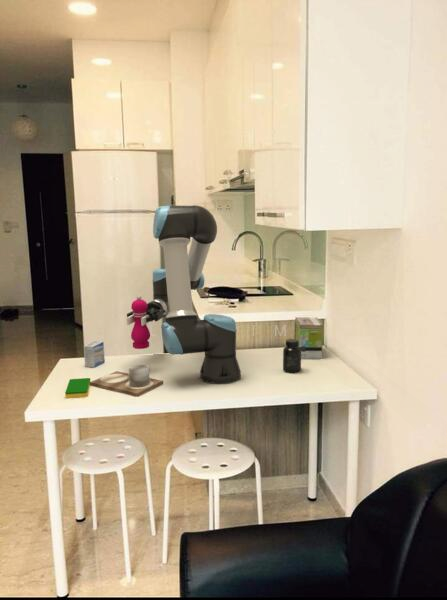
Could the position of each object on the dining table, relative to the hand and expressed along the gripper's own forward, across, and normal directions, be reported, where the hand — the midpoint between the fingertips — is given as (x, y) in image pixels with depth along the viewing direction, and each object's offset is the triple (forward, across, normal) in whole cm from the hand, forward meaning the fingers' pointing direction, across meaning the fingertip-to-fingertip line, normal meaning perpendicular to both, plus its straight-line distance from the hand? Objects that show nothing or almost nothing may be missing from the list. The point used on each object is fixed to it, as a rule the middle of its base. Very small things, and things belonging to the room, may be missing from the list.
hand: (134, 321), depth 187 cm
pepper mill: (-5, 0, -11) cm, 12 cm away
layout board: (+10, 0, -21) cm, 23 cm away
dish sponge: (+18, +15, -22) cm, 32 cm away
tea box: (-39, -62, -21) cm, 76 cm away
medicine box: (-10, +22, -21) cm, 31 cm away
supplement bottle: (-15, -57, -21) cm, 63 cm away
